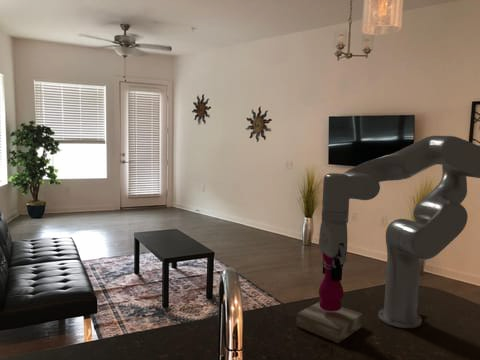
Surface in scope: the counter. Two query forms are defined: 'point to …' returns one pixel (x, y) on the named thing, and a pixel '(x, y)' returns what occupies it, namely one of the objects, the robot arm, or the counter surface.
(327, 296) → the pepper mill
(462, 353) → the counter surface
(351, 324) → the grey ridged block
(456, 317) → the counter surface
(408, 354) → the counter surface
